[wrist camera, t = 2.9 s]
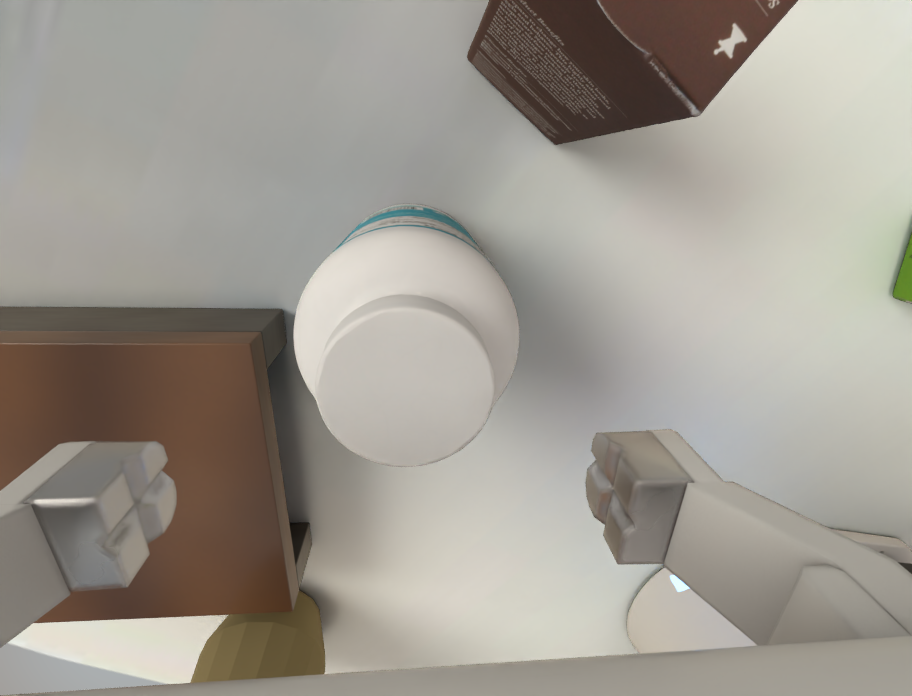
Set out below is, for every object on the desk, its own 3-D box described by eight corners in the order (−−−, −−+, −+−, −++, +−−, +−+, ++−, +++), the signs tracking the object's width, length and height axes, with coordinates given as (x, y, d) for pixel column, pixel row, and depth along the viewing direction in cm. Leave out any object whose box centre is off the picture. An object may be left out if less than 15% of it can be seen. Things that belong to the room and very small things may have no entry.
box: (620, 65, 21) (848, -41, 10) (554, 147, 22) (690, 135, 11) (527, -41, 19) (675, -318, 8) (460, 55, 20) (507, -71, 9)
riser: (282, 308, 24) (250, 343, 20) (312, 544, 31) (293, 612, 26) (-38, 305, 23) (-153, 342, 18) (64, 552, 29) (-2, 625, 25)
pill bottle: (415, 363, 26) (410, 549, 14) (312, 275, 24) (191, 404, 11) (509, 272, 24) (603, 389, 12) (409, 168, 22) (395, 178, 9)
